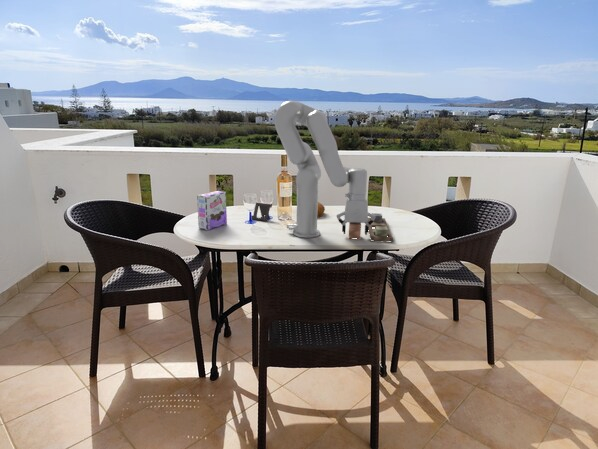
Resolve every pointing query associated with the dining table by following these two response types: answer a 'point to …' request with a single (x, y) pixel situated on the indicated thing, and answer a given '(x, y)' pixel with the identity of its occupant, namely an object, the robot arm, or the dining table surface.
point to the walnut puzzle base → (379, 229)
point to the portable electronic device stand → (262, 211)
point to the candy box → (212, 210)
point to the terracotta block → (354, 230)
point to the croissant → (320, 210)
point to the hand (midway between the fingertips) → (355, 233)
